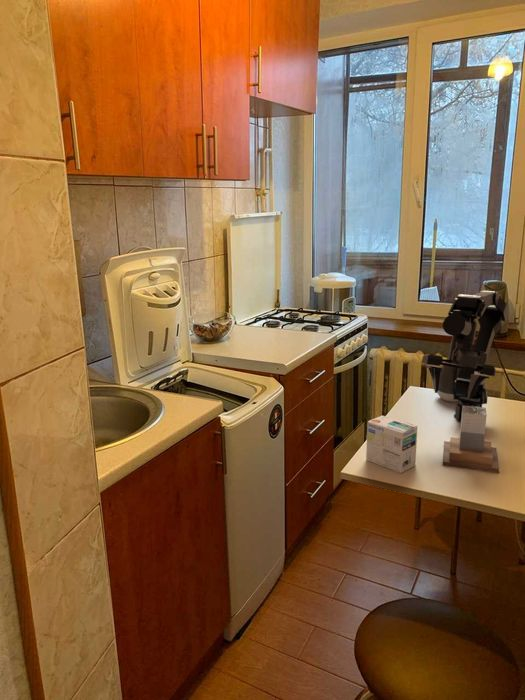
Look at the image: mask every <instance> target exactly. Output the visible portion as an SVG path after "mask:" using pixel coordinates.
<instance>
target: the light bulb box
mask: <svg viewBox="0 0 525 700" xmlns="http://www.w3.org/2000/svg"><path fill="white" fill-rule="evenodd" d="M366 426H367V427H366V428H367V431H366V453H365V455H366V456H365V460H366V461H367V462H370V463H373V464H376V465H379V466H381V467H383V468H386V469H388V470H391V471H393V472H396V473H399V474H403V473H404V472H406V471H408V470H410V469H411V468H412V467H414V466H416V461H417V460H416V459H417V441H418V425H416V424H412V423H409V422H405V421H402V420H398V419H394V418H391V417H388V416H385V415H380V416H378V417H375V418H373V419H370V420H368V421H367V424H366Z"/></svg>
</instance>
